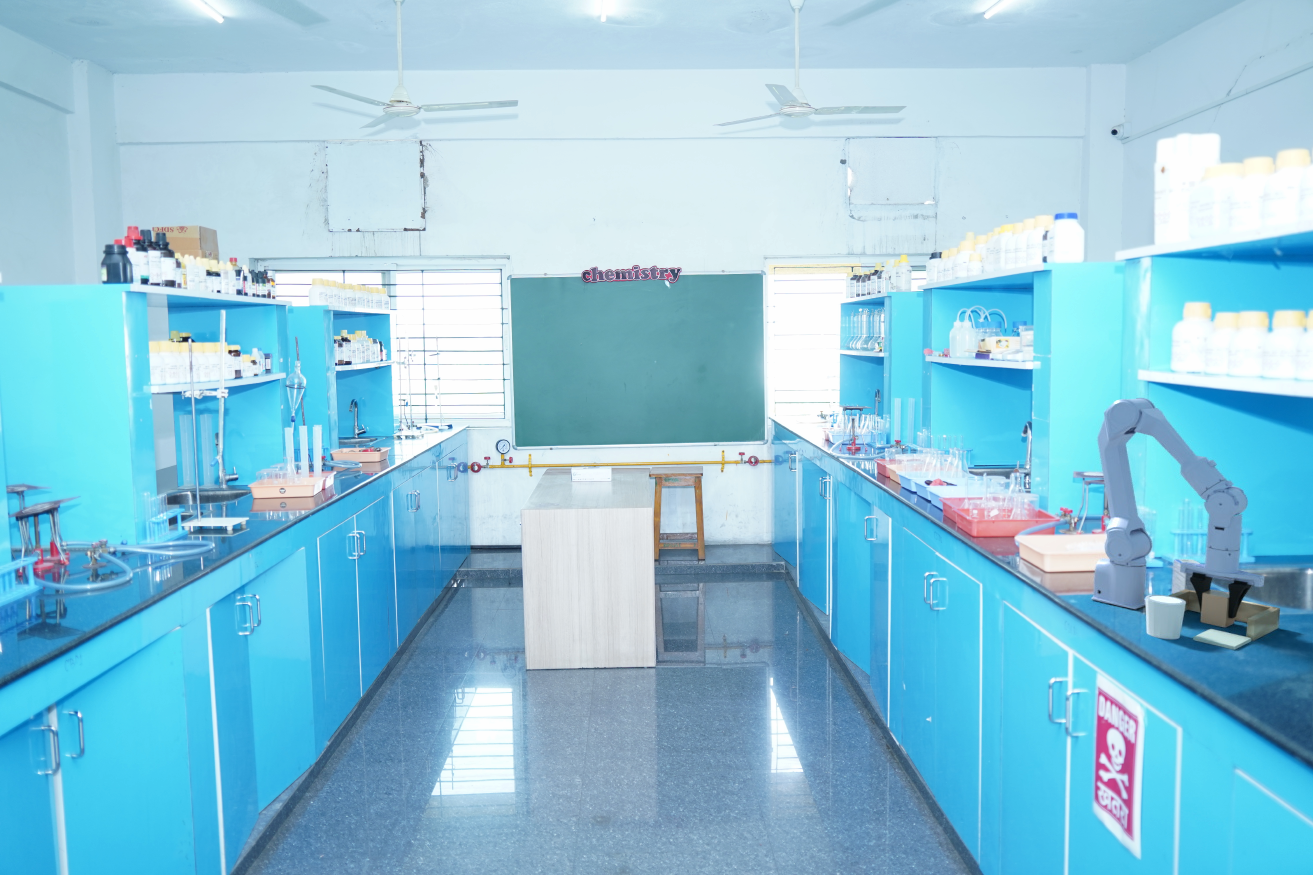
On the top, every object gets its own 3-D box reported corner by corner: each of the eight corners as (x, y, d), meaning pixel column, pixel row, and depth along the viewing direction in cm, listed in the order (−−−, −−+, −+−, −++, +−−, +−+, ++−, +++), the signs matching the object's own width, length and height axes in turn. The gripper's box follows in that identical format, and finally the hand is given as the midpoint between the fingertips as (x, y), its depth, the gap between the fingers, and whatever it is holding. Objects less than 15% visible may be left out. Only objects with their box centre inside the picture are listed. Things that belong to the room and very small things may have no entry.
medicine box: (1206, 607, 194) (1209, 567, 193) (1183, 606, 195) (1186, 566, 194) (1192, 597, 202) (1195, 559, 201) (1170, 596, 203) (1173, 558, 202)
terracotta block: (1200, 621, 184) (1202, 592, 183) (1209, 617, 187) (1211, 589, 186) (1225, 627, 180) (1227, 597, 180) (1234, 623, 183) (1236, 594, 183)
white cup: (1191, 639, 173) (1194, 603, 172) (1156, 640, 172) (1159, 604, 172) (1168, 628, 180) (1171, 593, 179) (1135, 629, 179) (1137, 594, 178)
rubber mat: (1193, 639, 173) (1193, 636, 173) (1210, 631, 178) (1210, 628, 178) (1234, 649, 167) (1234, 646, 167) (1251, 641, 172) (1251, 637, 172)
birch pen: (1156, 618, 186) (1157, 599, 186) (1184, 607, 194) (1185, 588, 194) (1253, 640, 172) (1254, 620, 172) (1278, 627, 181) (1280, 608, 180)
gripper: (1272, 551, 179) (1266, 619, 180) (1192, 538, 190) (1187, 602, 191) (1258, 556, 174) (1253, 625, 176) (1177, 543, 186) (1173, 608, 187)
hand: (1218, 614), depth 183 cm, fingers closed on terracotta block, 4 cm apart
